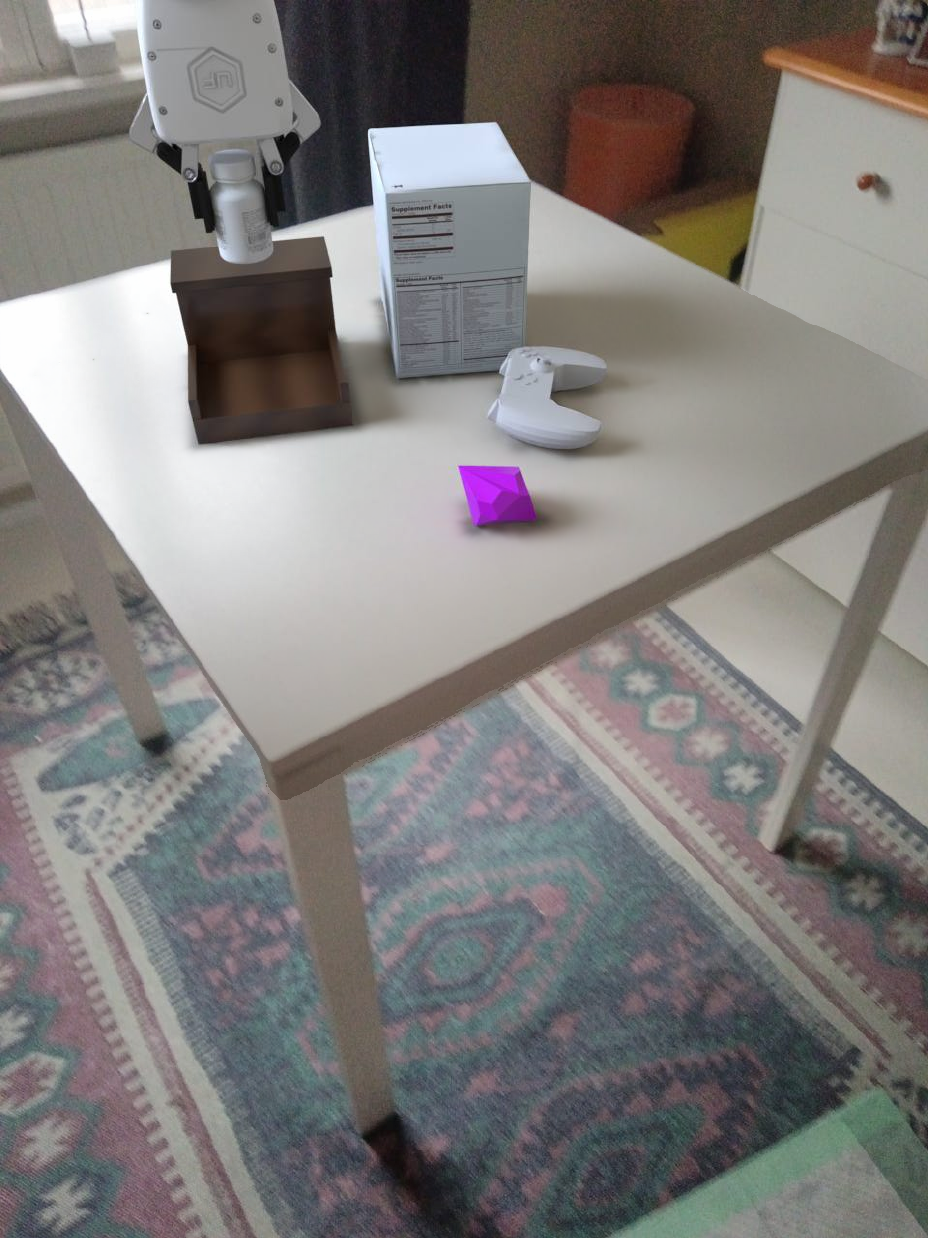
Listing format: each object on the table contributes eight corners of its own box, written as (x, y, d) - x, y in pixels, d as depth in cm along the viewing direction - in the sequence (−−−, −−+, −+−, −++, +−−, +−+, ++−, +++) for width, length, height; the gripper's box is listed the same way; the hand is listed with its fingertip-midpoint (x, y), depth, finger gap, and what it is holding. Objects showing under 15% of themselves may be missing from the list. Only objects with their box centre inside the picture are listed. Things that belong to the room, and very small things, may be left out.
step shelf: (196, 444, 88) (169, 331, 81) (194, 356, 100) (170, 250, 92) (354, 425, 90) (343, 313, 83) (335, 340, 102) (323, 235, 94)
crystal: (486, 543, 78) (486, 496, 75) (453, 507, 81) (452, 461, 78) (541, 523, 80) (543, 476, 76) (506, 488, 83) (507, 442, 80)
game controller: (605, 431, 83) (491, 401, 83) (590, 472, 86) (480, 443, 86) (612, 347, 94) (510, 321, 93) (598, 386, 97) (500, 361, 96)
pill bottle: (279, 243, 82) (265, 146, 77) (266, 266, 79) (251, 167, 74) (228, 242, 83) (211, 145, 77) (213, 264, 80) (194, 165, 74)
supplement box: (528, 370, 97) (535, 182, 84) (394, 382, 96) (382, 192, 83) (497, 291, 109) (499, 117, 97) (378, 301, 108) (365, 125, 95)
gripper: (63, -27, 63) (133, 252, 75) (326, -41, 65) (351, 232, 78) (73, -50, 68) (137, 214, 81) (316, -63, 70) (341, 196, 83)
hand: (241, 220), depth 79 cm, fingers closed on pill bottle, 4 cm apart
